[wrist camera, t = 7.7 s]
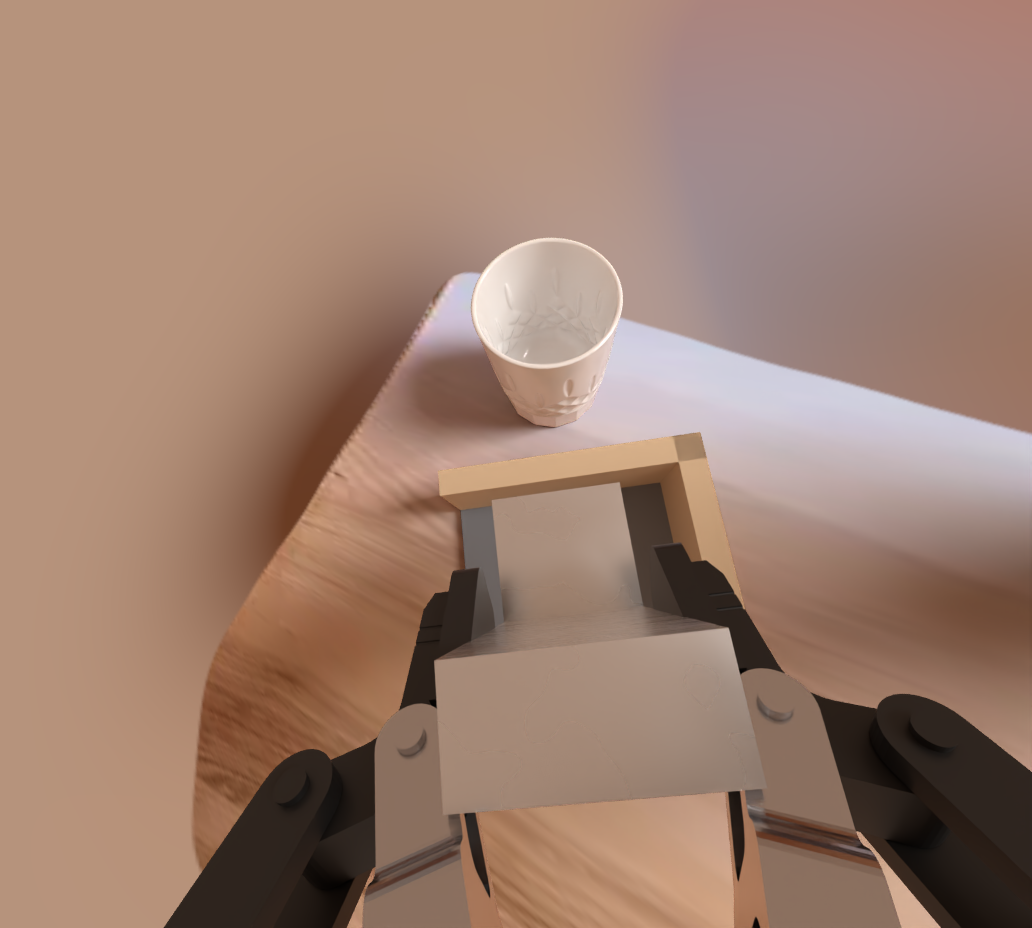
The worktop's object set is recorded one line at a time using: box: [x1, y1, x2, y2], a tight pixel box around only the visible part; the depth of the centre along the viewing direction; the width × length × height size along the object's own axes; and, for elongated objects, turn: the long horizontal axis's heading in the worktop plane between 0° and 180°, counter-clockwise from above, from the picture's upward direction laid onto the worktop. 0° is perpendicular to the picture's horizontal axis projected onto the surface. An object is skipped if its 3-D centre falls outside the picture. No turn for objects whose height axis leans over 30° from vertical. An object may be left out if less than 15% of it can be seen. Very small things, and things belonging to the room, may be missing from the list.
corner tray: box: [438, 432, 745, 627], centre depth 25 cm, size 15×15×6 cm
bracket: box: [434, 482, 767, 815], centre depth 11 cm, size 4×6×9 cm
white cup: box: [471, 238, 623, 427], centre depth 27 cm, size 8×8×10 cm
